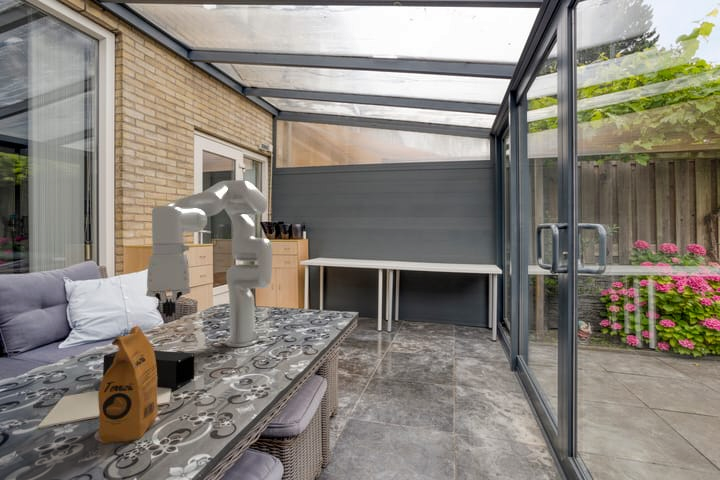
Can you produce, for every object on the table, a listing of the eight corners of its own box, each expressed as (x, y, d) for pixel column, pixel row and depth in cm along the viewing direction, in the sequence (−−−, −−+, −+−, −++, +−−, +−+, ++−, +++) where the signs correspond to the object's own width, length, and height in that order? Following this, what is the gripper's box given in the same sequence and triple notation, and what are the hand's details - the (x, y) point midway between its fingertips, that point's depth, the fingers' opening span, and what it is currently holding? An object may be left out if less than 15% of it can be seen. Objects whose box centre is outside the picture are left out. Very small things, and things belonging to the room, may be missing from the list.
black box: (176, 361, 95) (94, 354, 101) (175, 389, 95) (93, 381, 101) (195, 353, 103) (118, 347, 109) (194, 379, 103) (117, 372, 108)
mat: (173, 379, 103) (173, 378, 103) (168, 403, 88) (168, 401, 88) (63, 398, 91) (63, 396, 91) (37, 428, 77) (37, 426, 77)
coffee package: (88, 448, 70) (86, 342, 70) (120, 416, 82) (118, 325, 82) (141, 442, 72) (139, 338, 71) (164, 412, 84) (163, 323, 84)
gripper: (198, 249, 101) (198, 310, 101) (138, 250, 95) (139, 316, 95) (198, 250, 94) (198, 316, 95) (134, 251, 88) (135, 322, 88)
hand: (169, 315), depth 95 cm, fingers closed
